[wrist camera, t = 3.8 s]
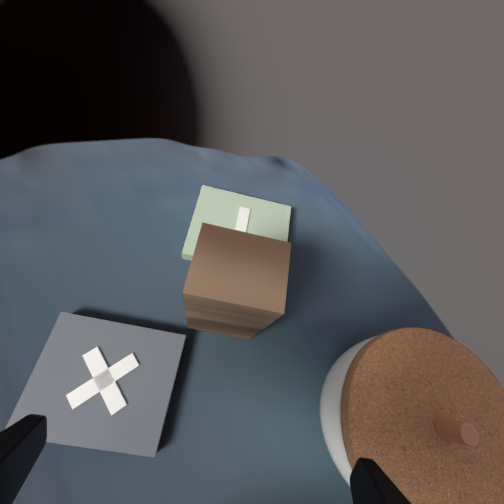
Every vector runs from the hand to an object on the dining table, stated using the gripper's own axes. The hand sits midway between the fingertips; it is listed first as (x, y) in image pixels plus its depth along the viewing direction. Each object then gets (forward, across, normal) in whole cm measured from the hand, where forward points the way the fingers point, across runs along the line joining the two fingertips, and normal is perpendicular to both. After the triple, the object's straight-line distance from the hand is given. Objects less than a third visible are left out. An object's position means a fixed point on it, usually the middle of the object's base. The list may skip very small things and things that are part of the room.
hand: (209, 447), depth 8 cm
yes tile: (+20, 0, -2) cm, 20 cm away
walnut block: (+15, 0, +4) cm, 15 cm away
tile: (+10, +7, +8) cm, 15 cm away
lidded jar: (+11, -12, +8) cm, 18 cm away
